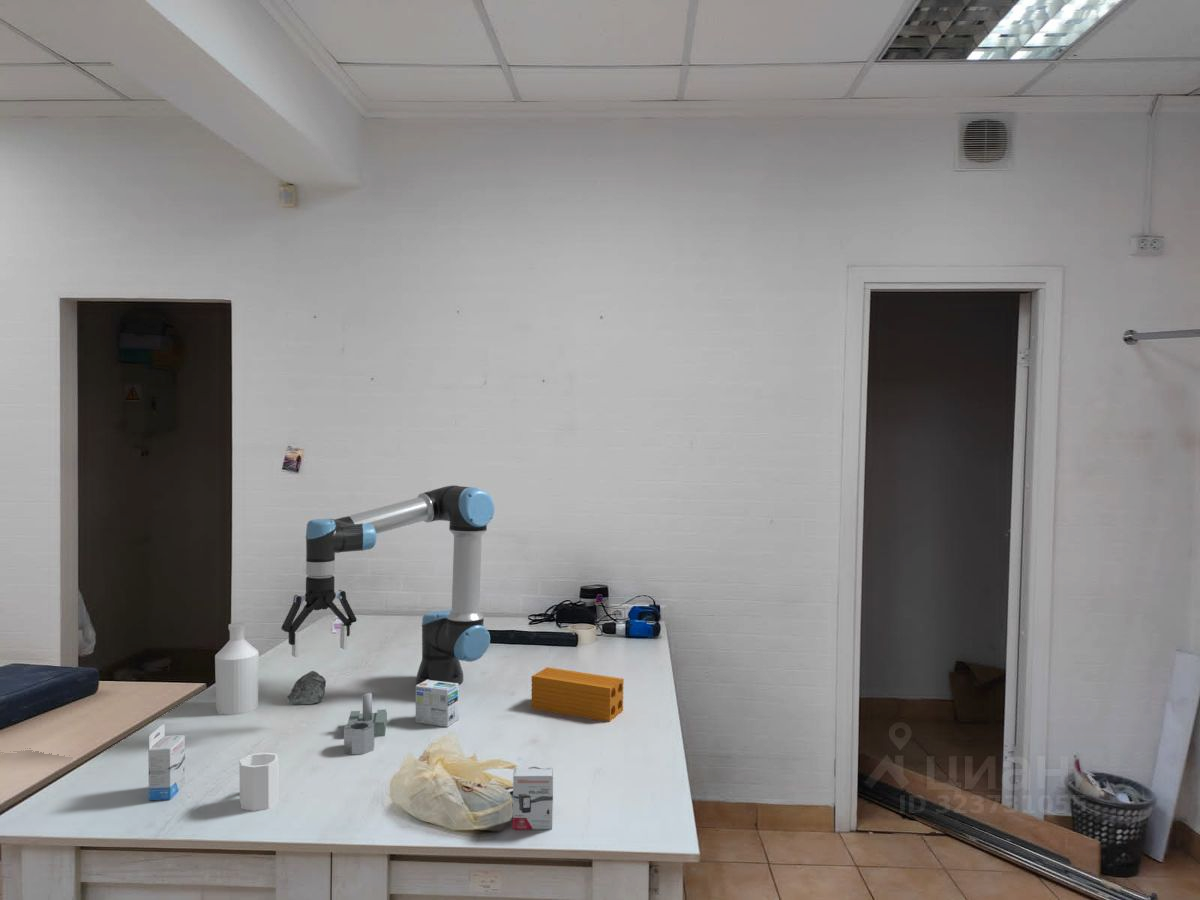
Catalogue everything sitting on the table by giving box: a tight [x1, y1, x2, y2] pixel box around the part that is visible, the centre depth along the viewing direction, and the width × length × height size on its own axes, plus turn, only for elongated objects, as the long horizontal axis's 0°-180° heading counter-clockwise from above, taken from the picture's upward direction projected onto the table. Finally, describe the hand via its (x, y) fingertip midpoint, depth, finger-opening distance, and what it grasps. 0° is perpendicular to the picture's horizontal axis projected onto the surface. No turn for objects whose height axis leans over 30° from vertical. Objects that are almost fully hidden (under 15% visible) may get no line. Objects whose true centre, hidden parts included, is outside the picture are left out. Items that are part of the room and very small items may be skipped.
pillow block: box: [347, 692, 388, 737], centre depth 233 cm, size 10×10×10 cm
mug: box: [239, 751, 280, 812], centre depth 191 cm, size 12×9×10 cm
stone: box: [286, 670, 327, 706], centre depth 256 cm, size 10×10×10 cm
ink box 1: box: [147, 723, 186, 801], centre depth 194 cm, size 9×5×15 cm, turn 5°
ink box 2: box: [512, 765, 554, 831], centre depth 181 cm, size 9×5×12 cm, turn 93°
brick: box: [530, 666, 625, 723], centre depth 251 cm, size 26×10×10 cm, turn 66°
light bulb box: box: [415, 680, 460, 728], centre depth 241 cm, size 11×7×11 cm, turn 71°
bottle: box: [214, 621, 260, 716], centre depth 249 cm, size 12×12×25 cm
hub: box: [343, 721, 375, 756], centre depth 220 cm, size 7×7×6 cm
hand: (319, 652), depth 233 cm, fingers open, 13 cm apart
